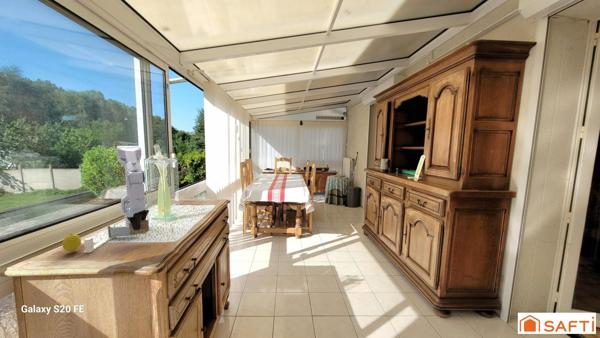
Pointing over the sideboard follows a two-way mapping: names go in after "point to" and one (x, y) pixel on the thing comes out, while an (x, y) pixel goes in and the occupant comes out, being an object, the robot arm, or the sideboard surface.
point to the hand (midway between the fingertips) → (139, 228)
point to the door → (119, 231)
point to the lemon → (71, 243)
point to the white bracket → (90, 247)
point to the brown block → (143, 228)
